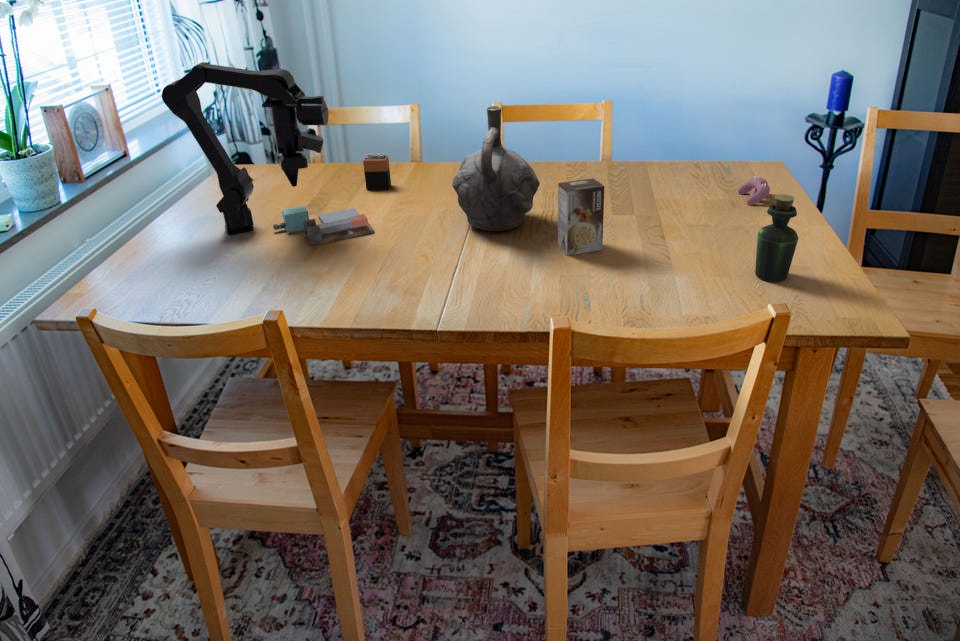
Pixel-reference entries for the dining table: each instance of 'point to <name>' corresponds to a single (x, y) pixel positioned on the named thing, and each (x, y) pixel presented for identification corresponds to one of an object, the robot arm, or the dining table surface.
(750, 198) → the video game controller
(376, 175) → the battery
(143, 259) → the dining table surface
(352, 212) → the mat
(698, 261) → the dining table surface
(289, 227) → the plug
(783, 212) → the potion bottle
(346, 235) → the base
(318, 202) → the dining table surface
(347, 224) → the cutter lever
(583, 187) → the coffee box
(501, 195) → the vessel
